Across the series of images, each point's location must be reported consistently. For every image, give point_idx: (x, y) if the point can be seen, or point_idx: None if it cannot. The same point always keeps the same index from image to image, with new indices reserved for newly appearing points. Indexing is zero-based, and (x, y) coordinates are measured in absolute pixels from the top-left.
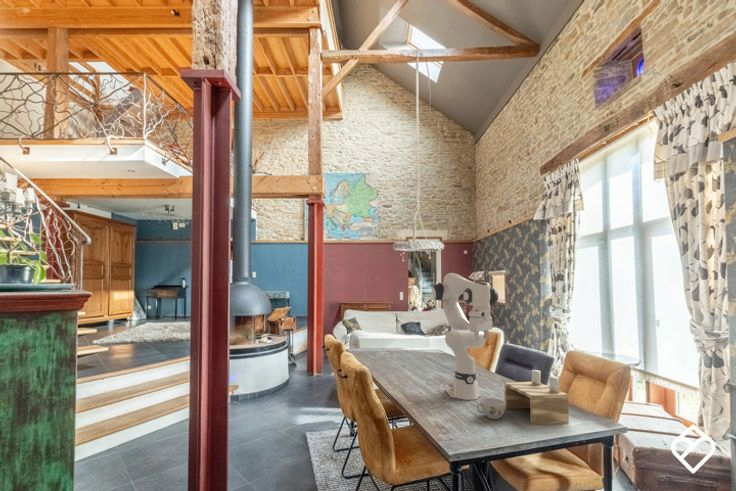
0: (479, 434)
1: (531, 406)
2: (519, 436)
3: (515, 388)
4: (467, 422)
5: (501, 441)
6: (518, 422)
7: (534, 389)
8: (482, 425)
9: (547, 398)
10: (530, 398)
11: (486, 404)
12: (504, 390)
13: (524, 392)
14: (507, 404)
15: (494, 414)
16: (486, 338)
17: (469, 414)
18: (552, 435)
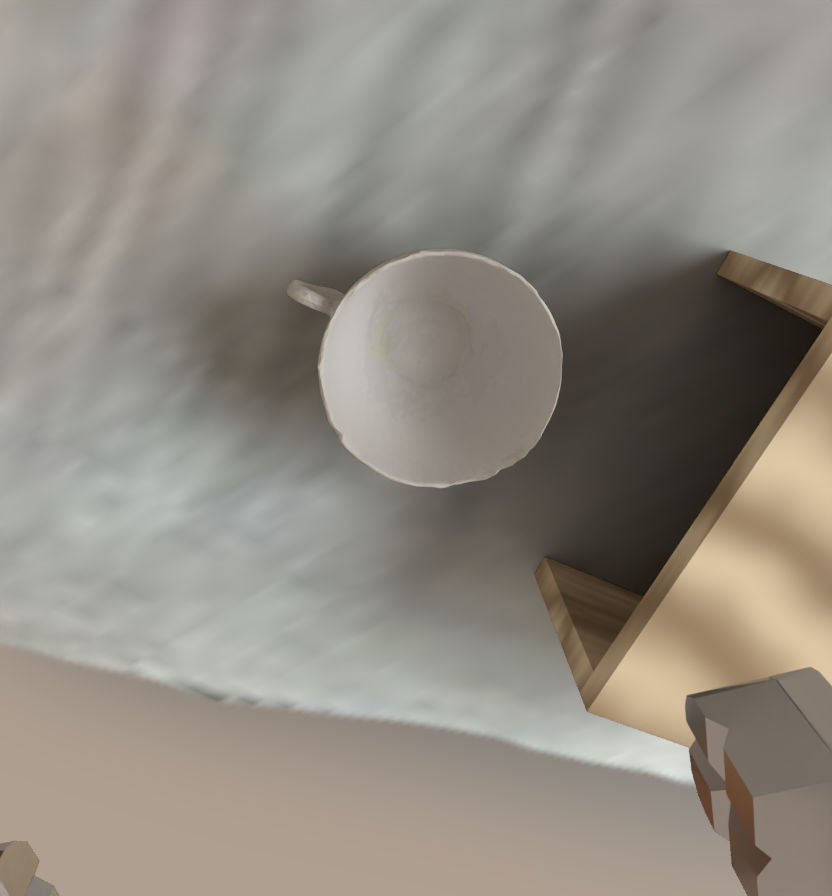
0: (43, 490)
1: (567, 642)
2: (269, 634)
3: (731, 492)
4: (136, 293)
5: (95, 623)
6: (495, 502)
7: (819, 620)
8: (200, 399)
9: None
10: (591, 671)
11: (320, 384)
12: (815, 279)
13: (646, 620)
14: (745, 287)
15: (365, 409)
16: (720, 804)
17: (307, 171)
18: (462, 715)
